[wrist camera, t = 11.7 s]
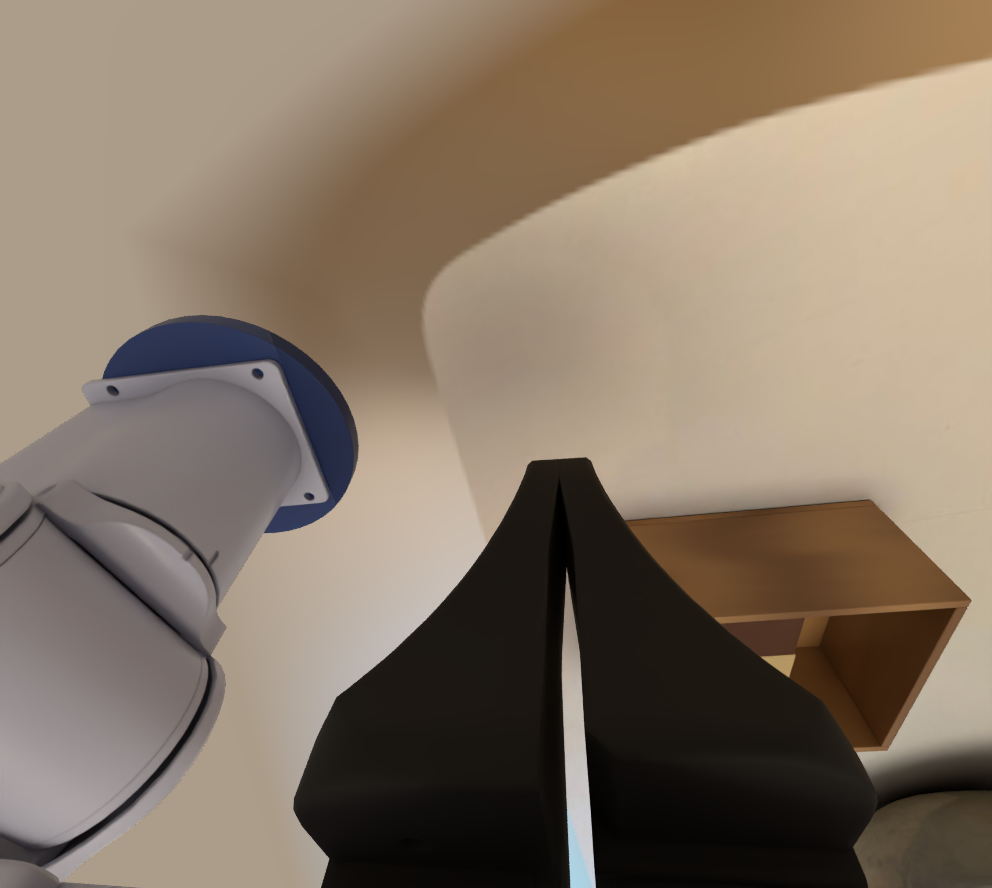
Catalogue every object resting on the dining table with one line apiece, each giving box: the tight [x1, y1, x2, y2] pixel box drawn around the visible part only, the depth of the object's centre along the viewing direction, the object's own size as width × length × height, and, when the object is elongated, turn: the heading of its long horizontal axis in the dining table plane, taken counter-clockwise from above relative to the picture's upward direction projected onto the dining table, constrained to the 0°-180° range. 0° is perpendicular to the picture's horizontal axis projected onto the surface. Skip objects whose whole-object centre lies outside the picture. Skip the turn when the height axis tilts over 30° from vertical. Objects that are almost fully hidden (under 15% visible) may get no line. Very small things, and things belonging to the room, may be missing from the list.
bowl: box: [853, 790, 992, 888], centre depth 36 cm, size 21×21×8 cm
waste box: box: [625, 500, 971, 752], centre depth 24 cm, size 12×11×6 cm
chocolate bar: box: [721, 618, 805, 677], centre depth 25 cm, size 8×4×3 cm, turn 7°
